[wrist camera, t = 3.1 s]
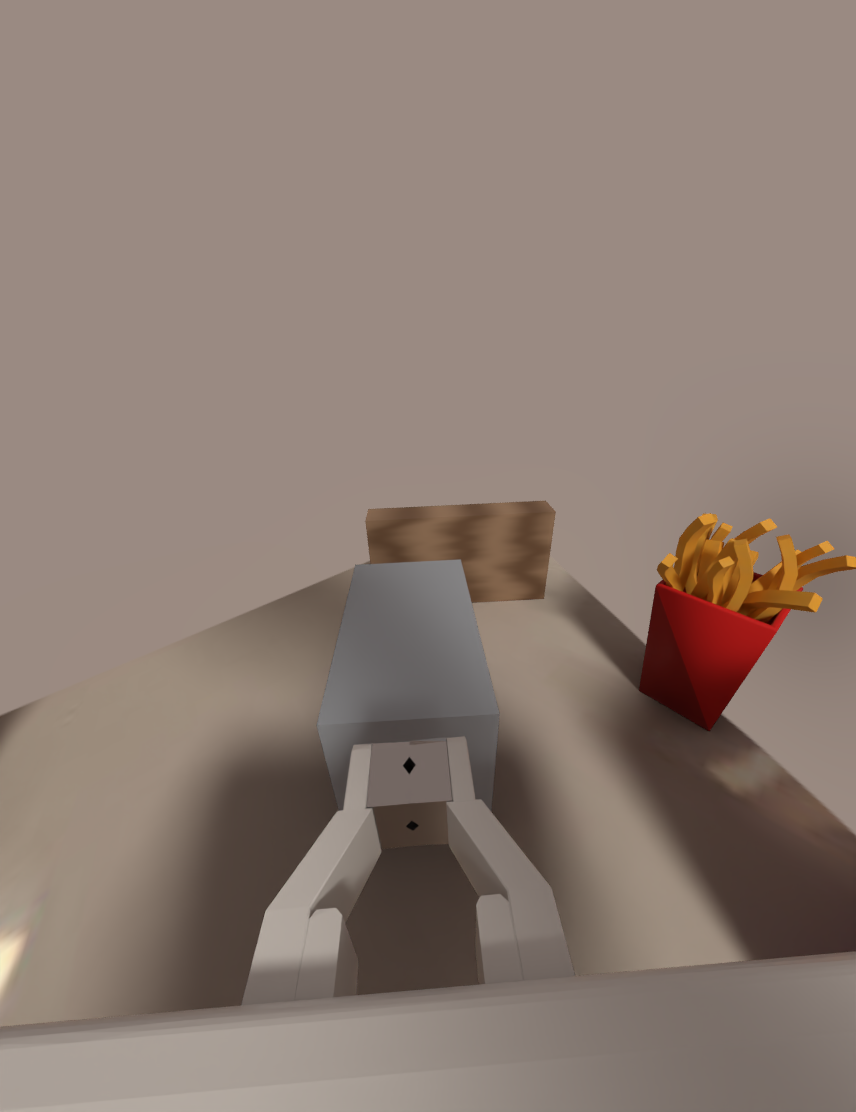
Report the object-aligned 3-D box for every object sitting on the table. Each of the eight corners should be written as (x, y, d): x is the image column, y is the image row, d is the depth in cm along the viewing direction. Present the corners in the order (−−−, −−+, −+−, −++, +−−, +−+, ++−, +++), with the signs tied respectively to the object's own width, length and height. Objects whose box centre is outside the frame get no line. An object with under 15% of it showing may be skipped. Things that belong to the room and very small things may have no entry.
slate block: (347, 843, 21) (316, 725, 17) (369, 663, 34) (355, 564, 29) (489, 834, 22) (499, 713, 17) (459, 657, 34) (460, 559, 29)
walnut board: (375, 607, 41) (365, 521, 36) (377, 591, 43) (368, 509, 38) (543, 598, 41) (555, 511, 36) (535, 583, 44) (545, 500, 39)
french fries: (658, 649, 34) (713, 486, 27) (776, 708, 28) (886, 520, 21) (607, 703, 29) (657, 521, 22) (737, 787, 23) (863, 578, 16)
